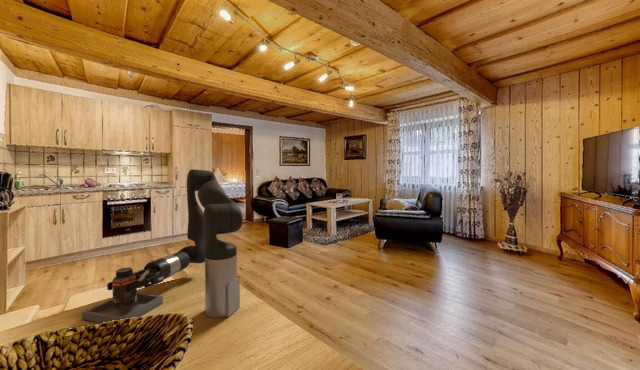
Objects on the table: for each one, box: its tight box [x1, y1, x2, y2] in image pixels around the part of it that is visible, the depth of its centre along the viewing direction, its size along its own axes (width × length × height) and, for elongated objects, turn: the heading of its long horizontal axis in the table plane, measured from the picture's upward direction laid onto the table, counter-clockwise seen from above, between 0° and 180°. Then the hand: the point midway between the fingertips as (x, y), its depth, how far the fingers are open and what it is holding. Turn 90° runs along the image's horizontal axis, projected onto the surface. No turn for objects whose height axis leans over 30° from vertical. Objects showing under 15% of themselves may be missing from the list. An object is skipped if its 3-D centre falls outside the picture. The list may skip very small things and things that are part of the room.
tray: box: [81, 292, 164, 324], centre depth 80 cm, size 14×14×2 cm
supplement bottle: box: [111, 266, 138, 310], centre depth 80 cm, size 6×6×11 cm
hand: (116, 288), depth 78 cm, fingers closed on supplement bottle, 6 cm apart
